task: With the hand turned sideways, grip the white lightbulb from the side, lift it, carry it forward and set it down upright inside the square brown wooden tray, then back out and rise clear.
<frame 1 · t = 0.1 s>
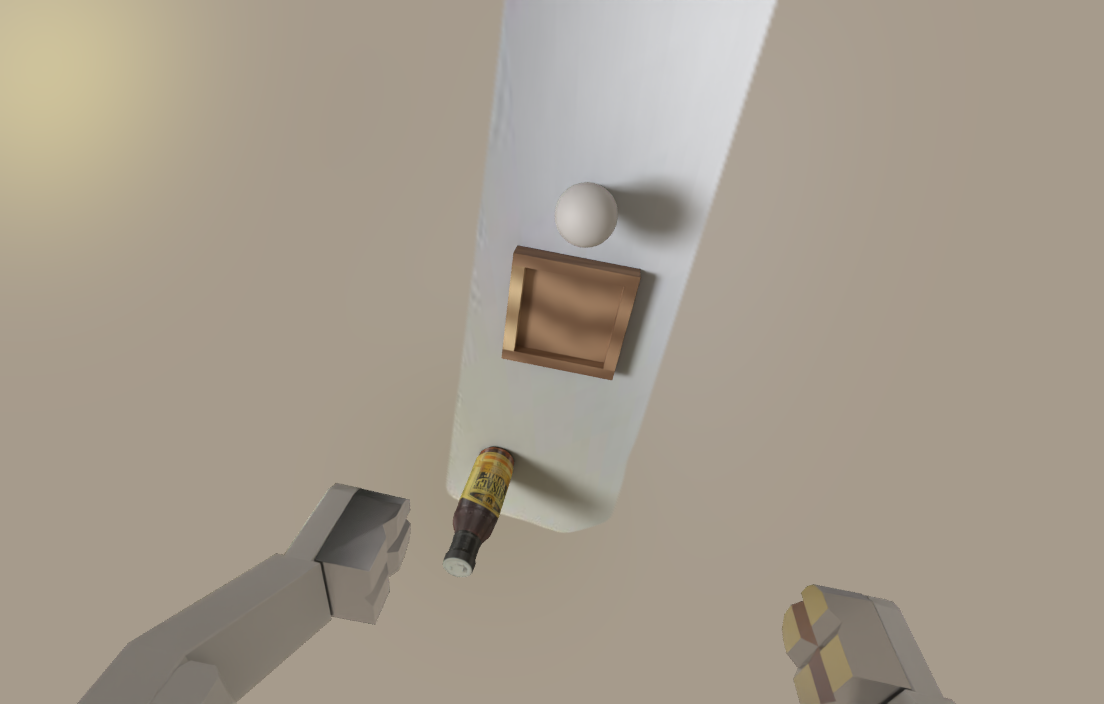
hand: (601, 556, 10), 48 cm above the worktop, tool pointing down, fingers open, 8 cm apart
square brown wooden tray: (568, 311, 61), on the worktop
sauce bottle: (496, 457, 77), on the worktop
lightbulb: (590, 194, 53), on the worktop
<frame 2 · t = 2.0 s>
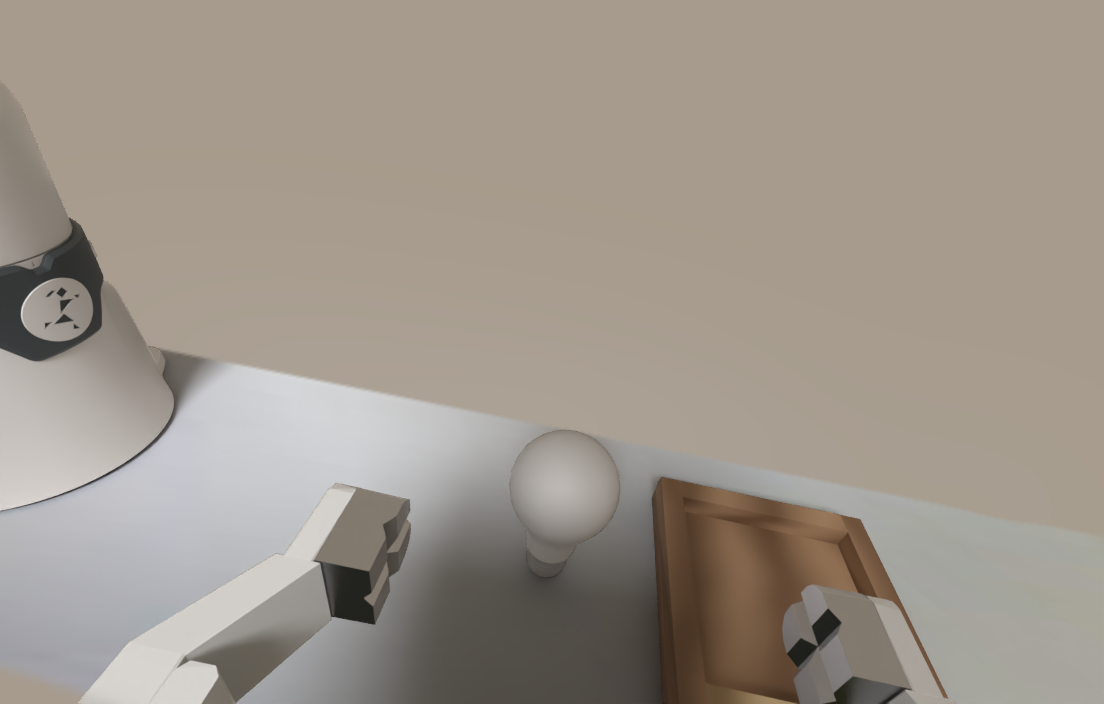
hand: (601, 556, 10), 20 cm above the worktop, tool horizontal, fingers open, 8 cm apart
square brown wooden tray: (771, 615, 30), on the worktop
lightbulb: (543, 567, 31), on the worktop
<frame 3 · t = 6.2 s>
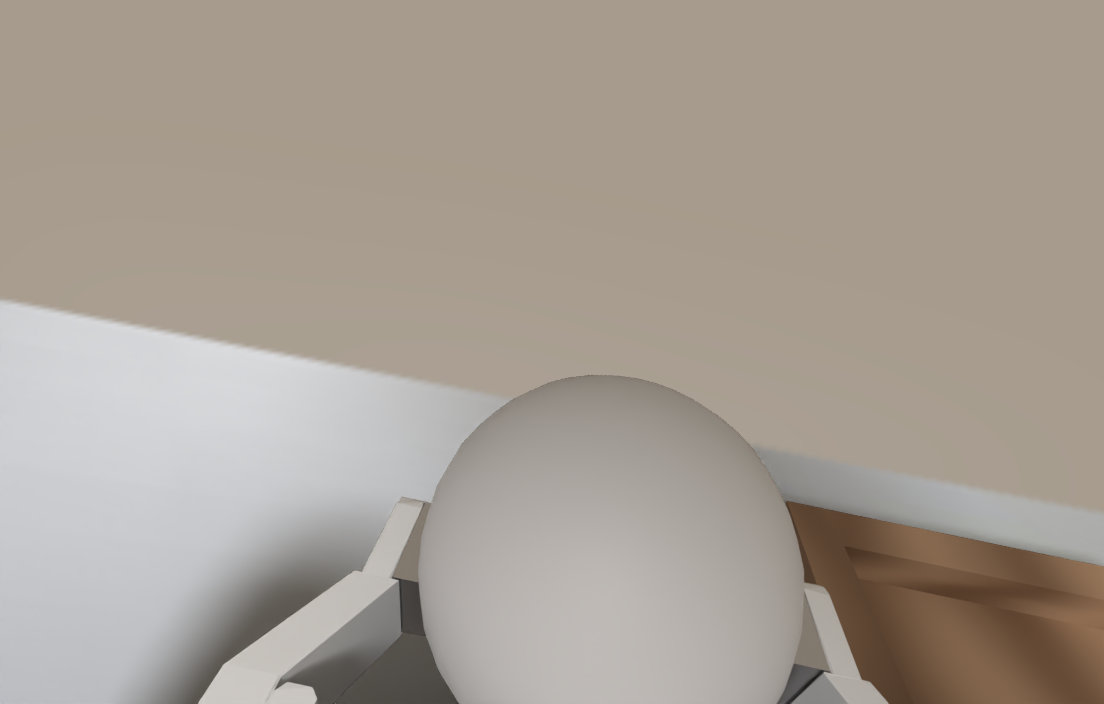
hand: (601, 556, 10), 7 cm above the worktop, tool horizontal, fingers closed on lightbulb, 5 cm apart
when the fingers open (8 cm above the worktop, at t = 12.7 s): lightbulb moves 2 cm, resting on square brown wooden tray.
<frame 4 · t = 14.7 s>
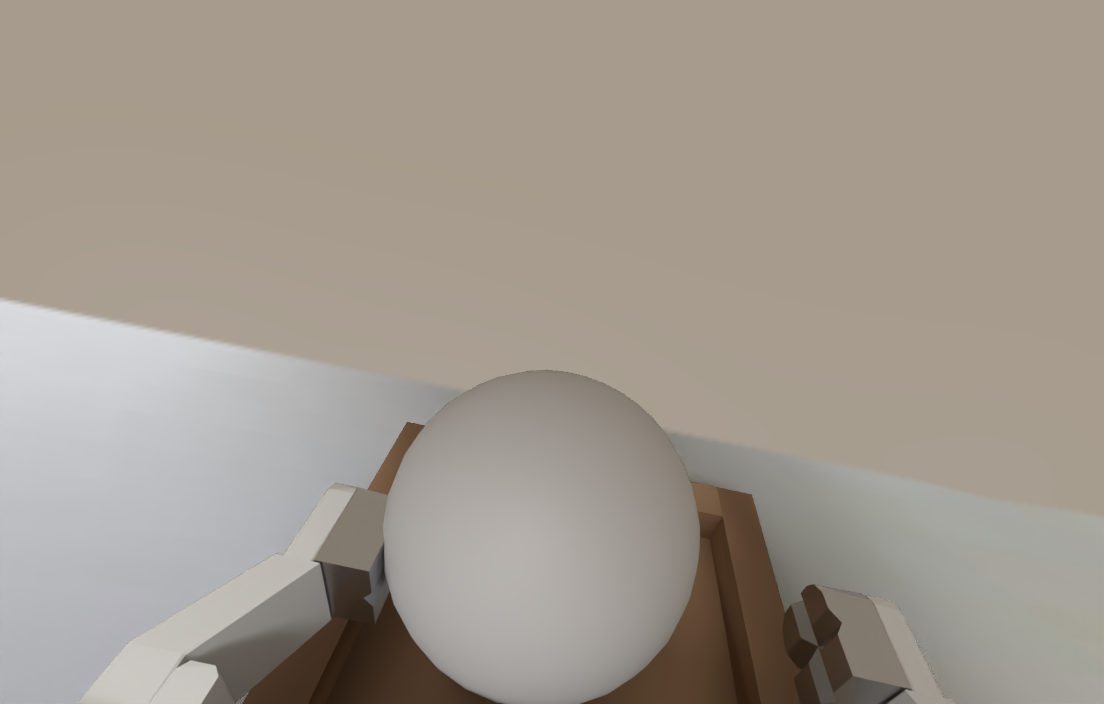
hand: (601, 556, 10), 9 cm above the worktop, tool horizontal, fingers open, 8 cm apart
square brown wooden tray: (543, 679, 15), on the worktop
lightbulb: (483, 654, 15), point 1 cm above the worktop, touching gripper, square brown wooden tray
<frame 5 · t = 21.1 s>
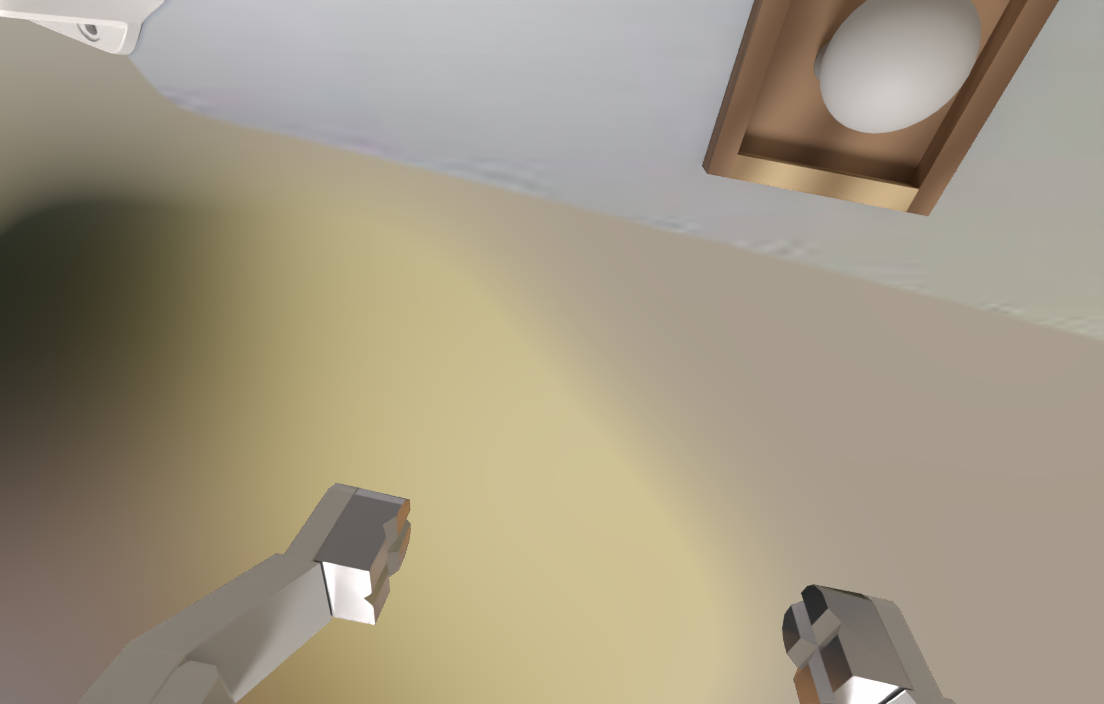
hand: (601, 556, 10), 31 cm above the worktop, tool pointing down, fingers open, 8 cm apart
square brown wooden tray: (858, 65, 30), on the worktop
lightbulb: (830, 61, 29), point 1 cm above the worktop, touching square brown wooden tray
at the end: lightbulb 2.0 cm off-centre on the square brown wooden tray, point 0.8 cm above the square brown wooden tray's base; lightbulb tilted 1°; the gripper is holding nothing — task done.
